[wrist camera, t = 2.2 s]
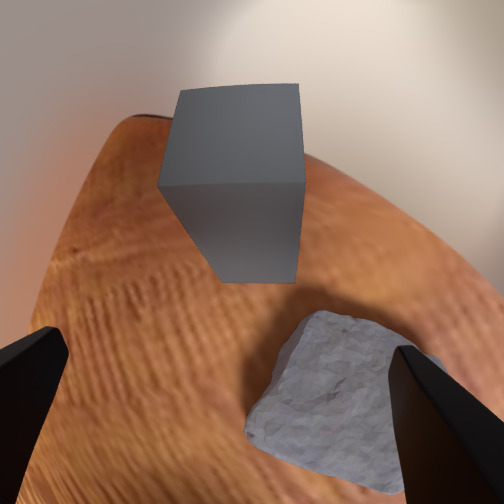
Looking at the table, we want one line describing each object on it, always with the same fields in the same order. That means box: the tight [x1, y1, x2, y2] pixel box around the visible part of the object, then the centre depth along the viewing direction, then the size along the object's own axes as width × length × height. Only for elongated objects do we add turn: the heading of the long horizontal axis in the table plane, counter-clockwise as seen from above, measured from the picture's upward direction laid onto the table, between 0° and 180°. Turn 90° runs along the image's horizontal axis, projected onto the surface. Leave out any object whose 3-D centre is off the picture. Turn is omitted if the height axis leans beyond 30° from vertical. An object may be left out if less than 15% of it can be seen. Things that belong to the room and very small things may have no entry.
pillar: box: [157, 84, 306, 284], centre depth 17 cm, size 5×5×12 cm
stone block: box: [244, 310, 448, 495], centre depth 17 cm, size 12×5×10 cm
